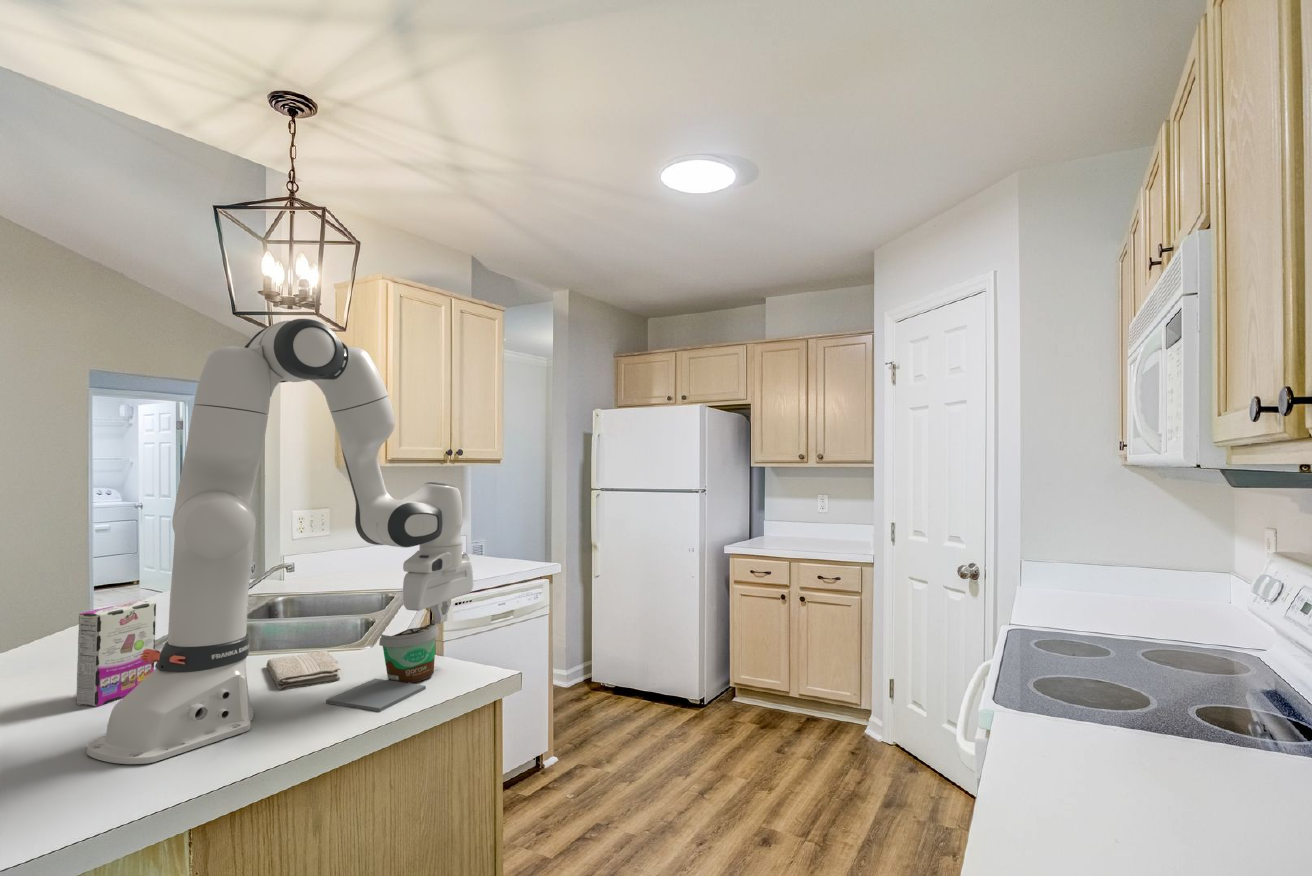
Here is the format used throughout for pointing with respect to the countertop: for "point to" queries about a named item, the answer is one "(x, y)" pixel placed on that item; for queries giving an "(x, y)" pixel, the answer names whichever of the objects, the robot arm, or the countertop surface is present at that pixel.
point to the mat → (376, 694)
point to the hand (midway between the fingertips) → (440, 622)
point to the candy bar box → (114, 651)
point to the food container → (410, 653)
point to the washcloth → (303, 669)
